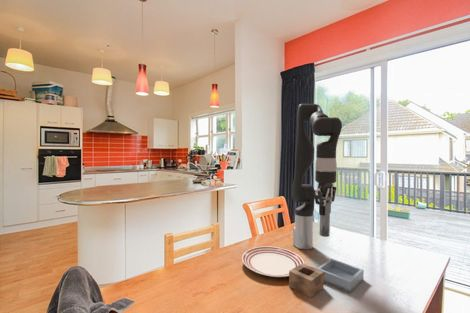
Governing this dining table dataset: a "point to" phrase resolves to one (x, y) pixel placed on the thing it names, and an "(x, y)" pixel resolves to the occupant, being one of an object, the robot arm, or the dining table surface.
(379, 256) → the dining table surface
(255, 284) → the dining table surface
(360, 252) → the dining table surface
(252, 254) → the dinner plate
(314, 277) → the block
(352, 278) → the tray
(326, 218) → the pin
